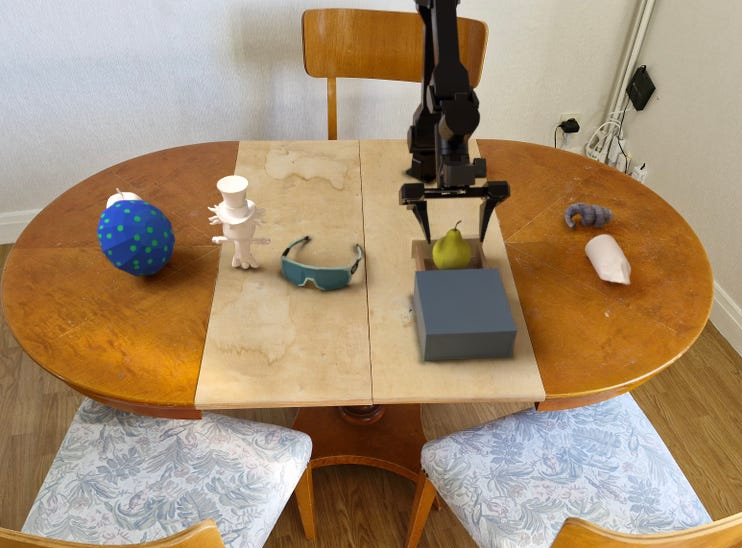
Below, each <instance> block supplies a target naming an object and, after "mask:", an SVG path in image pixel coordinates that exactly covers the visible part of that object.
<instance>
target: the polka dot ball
mask: <svg viewBox="0 0 742 548" xmlns="http://www.w3.org/2000/svg"><path fill="white" fill-rule="evenodd" d="M96 229H97V230H96V235H97V239H98V242H99V243H98V244H99V247H100V249H101V253H102V254H103V256H105V258H106V259H107V260H108V262H110V263H111V265H112V266H113V267H114V268H116V269H118V270H120V271H122V272H124V273H126V274H129V275H132V276H133V277H135V278H137V277H144V276H152V275H155V274H156V273H158V272H159V271H160V270H161V269H162V268H163V267H164V266H165V265H167V264H168V263H169V262H170V261H171V259H172V256H173V254H174V253H173V252H174V248H175V243H176V237H175V232H174V230H173V226H172V223H171V221H170V220H169V219H168V217H167V216H166V215H165V213H163V211H162V210H161V209H160V208H159V207H157V206H156V205H153V204H151V203H149V202H147V201H145V200H143V199H142V200H120V201H116V202H115V203H113V204H112V205H111V206H109V207H108V208H107V207H106V209H104V210H103V211H102V212H101V214H100V218H99V221H98V226H97V228H96Z"/></svg>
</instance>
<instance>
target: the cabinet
mask: <svg viewBox="0 0 742 548" xmlns="http://www.w3.org/2000/svg"><path fill="white" fill-rule="evenodd" d="M413 281H414V282H413V294H412V298H413V299H412V300H413V304H414V305H413V306H414V310H415V317H416V323H417V329H418V333H419V334H418V335H419V340H420V346H421V353H422V359H423V361H424V362H426V361H427V362H429V361H448V360H470V359H471V360H472V359H490V358H491V359H493V358H511V357H512V354H513V350H514V346H515V341H516V338H517V333H518V329H517V325H516V323H515V320H514V316H513V313H512V309H511V306H510V303H509V300H508V297H507V293H506V290H505V286H504V283H503V281H502V276H501V273H500V270H499V267H493V268H492V267H490V268H489V267H488V269H461V270H433V271H417V270H415V271H414V280H413Z"/></svg>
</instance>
